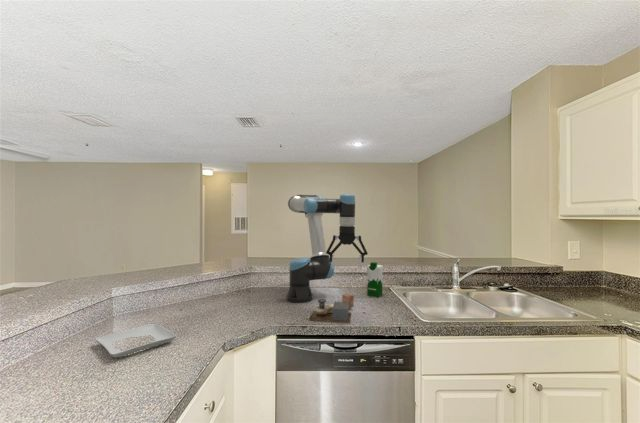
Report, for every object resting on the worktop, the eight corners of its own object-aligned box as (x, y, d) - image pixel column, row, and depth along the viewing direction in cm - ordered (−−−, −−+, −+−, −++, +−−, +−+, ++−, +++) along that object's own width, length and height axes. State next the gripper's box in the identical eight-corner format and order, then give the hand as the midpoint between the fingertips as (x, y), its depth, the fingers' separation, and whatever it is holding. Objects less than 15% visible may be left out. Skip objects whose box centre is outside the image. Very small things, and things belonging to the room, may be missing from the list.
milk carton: (365, 295, 176) (365, 262, 176) (371, 292, 184) (371, 260, 184) (379, 297, 171) (379, 263, 172) (384, 294, 179) (384, 261, 179)
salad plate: (155, 329, 124) (155, 321, 124) (177, 343, 110) (178, 334, 110) (93, 346, 107) (93, 337, 107) (111, 365, 94) (111, 354, 94)
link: (320, 315, 137) (320, 302, 137) (314, 312, 141) (314, 300, 142) (354, 307, 150) (354, 295, 150) (347, 304, 154) (347, 293, 154)
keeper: (308, 320, 133) (308, 304, 133) (313, 312, 146) (313, 297, 146) (350, 323, 131) (350, 306, 131) (351, 313, 143) (351, 298, 143)
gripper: (321, 225, 139) (320, 269, 140) (373, 226, 138) (373, 270, 138) (322, 224, 147) (321, 266, 147) (371, 225, 146) (371, 267, 146)
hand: (346, 268), depth 143 cm, fingers open, 13 cm apart
